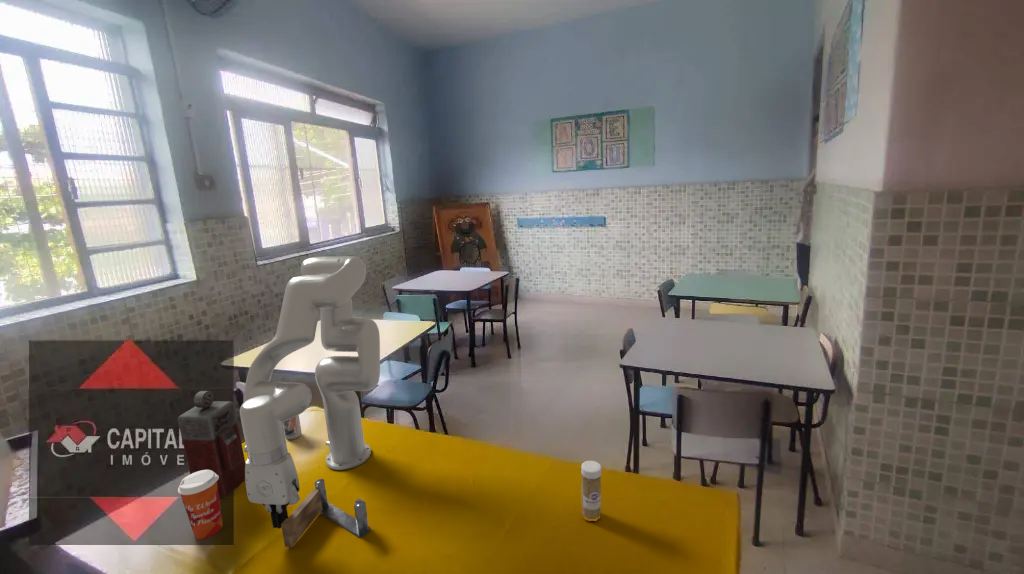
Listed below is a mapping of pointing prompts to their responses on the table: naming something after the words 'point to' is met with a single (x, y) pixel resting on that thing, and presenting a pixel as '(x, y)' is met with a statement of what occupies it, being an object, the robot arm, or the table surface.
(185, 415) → the vintage gas pump
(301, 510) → the gate
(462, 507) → the table surface
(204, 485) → the paper cup
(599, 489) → the sprinkles bottle
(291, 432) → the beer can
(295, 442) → the table surface
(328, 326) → the robot arm
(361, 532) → the gate posts
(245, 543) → the table surface
